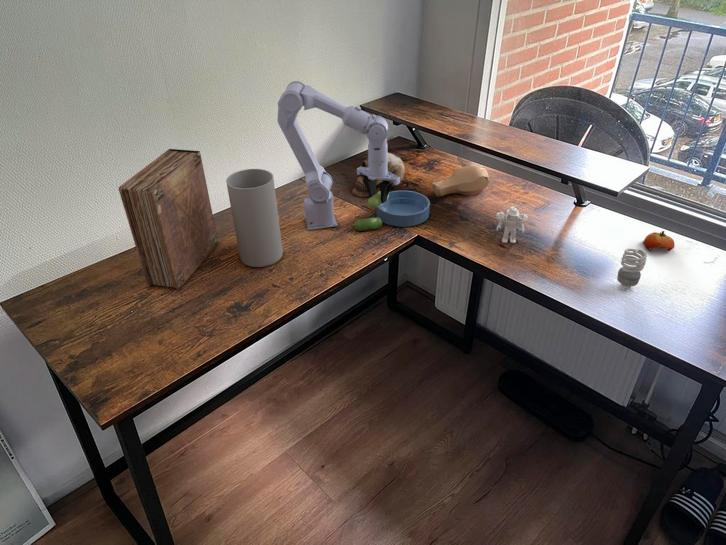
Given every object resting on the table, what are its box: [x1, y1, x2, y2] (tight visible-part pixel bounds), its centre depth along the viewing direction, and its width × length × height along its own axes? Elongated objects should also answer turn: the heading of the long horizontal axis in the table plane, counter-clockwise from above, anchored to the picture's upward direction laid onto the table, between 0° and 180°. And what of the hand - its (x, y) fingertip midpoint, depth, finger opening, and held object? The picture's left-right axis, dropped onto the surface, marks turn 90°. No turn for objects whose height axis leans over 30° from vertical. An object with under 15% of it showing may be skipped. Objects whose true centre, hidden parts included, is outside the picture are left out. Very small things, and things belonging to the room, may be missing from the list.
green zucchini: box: [350, 216, 383, 232], centre depth 174 cm, size 10×4×4 cm, turn 103°
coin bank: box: [351, 152, 406, 198], centre depth 195 cm, size 16×17×13 cm
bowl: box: [375, 190, 431, 228], centre depth 181 cm, size 17×17×4 cm
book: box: [118, 148, 219, 291], centre depth 153 cm, size 25×9×30 cm, turn 167°
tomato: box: [642, 230, 675, 253], centre depth 161 cm, size 8×7×7 cm
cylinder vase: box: [225, 168, 284, 268], centre depth 156 cm, size 12×12×25 cm
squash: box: [431, 164, 490, 198], centre depth 192 cm, size 11×20×9 cm, turn 107°
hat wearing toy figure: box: [495, 204, 528, 244], centre depth 164 cm, size 9×4×12 cm, turn 80°
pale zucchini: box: [367, 191, 389, 209], centre depth 173 cm, size 10×4×4 cm, turn 145°
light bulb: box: [616, 248, 648, 290], centre depth 143 cm, size 6×6×12 cm
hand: (378, 200), depth 173 cm, fingers closed on pale zucchini, 3 cm apart
